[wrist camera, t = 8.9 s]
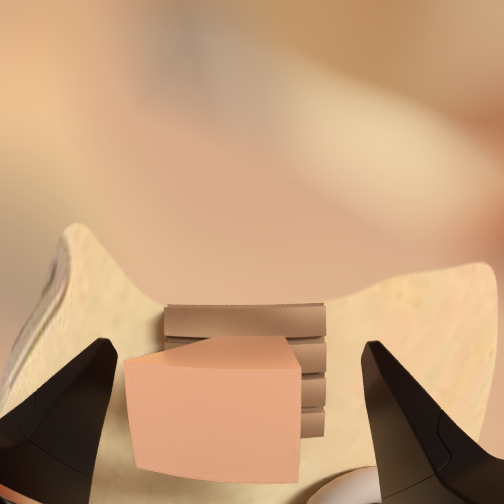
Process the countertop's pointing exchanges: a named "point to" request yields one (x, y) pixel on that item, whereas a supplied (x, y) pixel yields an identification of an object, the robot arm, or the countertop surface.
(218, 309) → the stacked wooden slats
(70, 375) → the robot arm
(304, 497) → the countertop surface
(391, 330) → the countertop surface
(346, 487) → the donut
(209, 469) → the clay bar
